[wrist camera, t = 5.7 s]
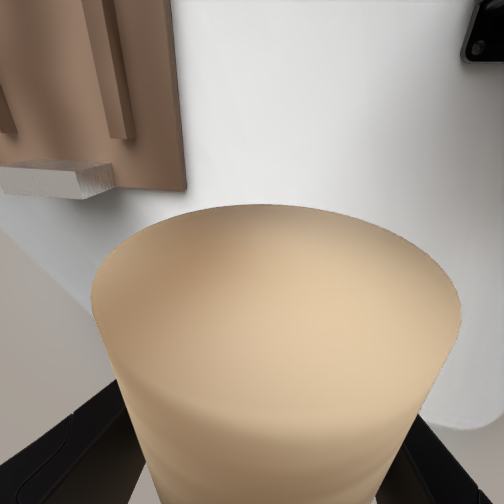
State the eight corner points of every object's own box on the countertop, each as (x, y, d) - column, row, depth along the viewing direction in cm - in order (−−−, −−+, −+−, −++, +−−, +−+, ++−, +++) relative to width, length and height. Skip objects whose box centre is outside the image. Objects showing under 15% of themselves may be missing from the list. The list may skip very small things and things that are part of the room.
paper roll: (387, 210, 7) (633, 467, 2) (331, 419, 12) (359, 660, 7) (181, 199, 8) (-41, 359, 3) (205, 399, 13) (140, 601, 7)
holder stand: (147, -247, 9) (66, -442, 6) (186, 188, 17) (159, 205, 14) (-154, -200, 11) (-343, -333, 8) (2, 175, 19) (-62, 188, 15)
